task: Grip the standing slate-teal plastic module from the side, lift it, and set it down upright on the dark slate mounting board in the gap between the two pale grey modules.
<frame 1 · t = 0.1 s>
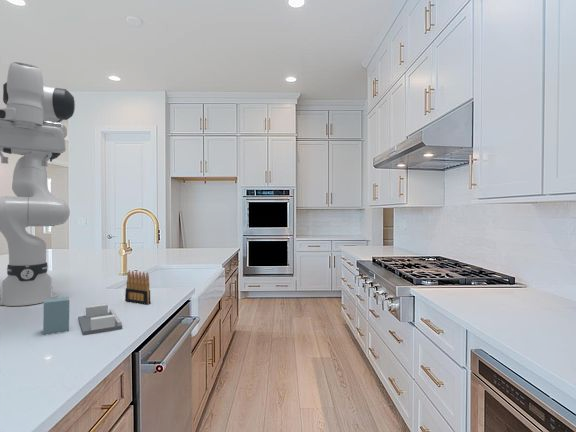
hand: (25, 164, 102), 48 cm above the table, tool pointing down, fingers open, 8 cm apart
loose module: (56, 330, 98), on the table
mounting board: (99, 324, 105), on the table
ammunition clip: (137, 303, 130), on the table
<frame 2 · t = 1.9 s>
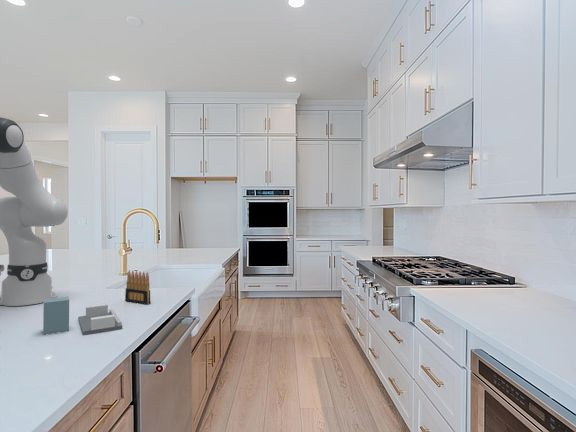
hand: (2, 270, 91), 18 cm above the table, tool horizontal, fingers open, 8 cm apart
nothing on the table moved.
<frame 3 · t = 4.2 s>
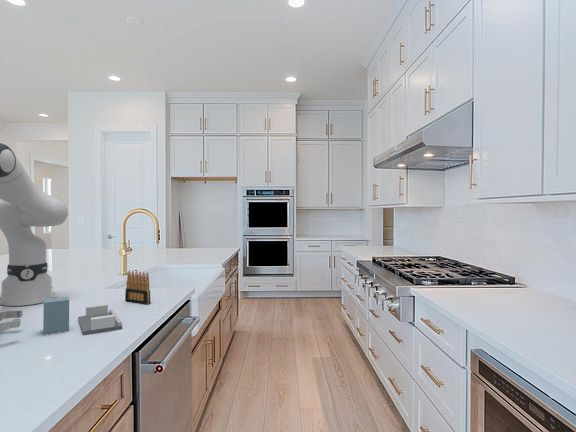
hand: (21, 317, 94), 5 cm above the table, tool horizontal, fingers open, 8 cm apart
nothing on the table moved.
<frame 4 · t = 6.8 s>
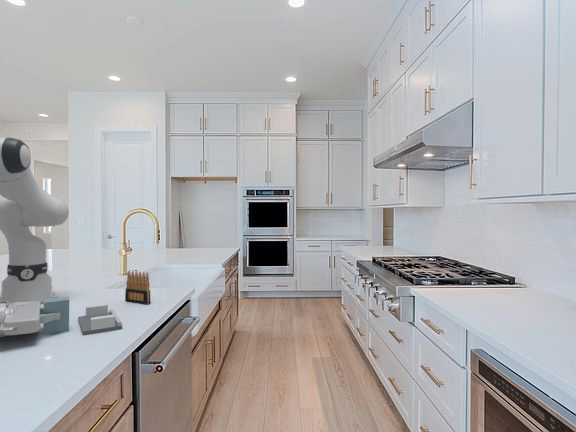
hand: (60, 312, 99), 5 cm above the table, tool horizontal, fingers closed on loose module, 4 cm apart
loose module: (56, 330, 98), on the table, touching gripper
everything else where it was.
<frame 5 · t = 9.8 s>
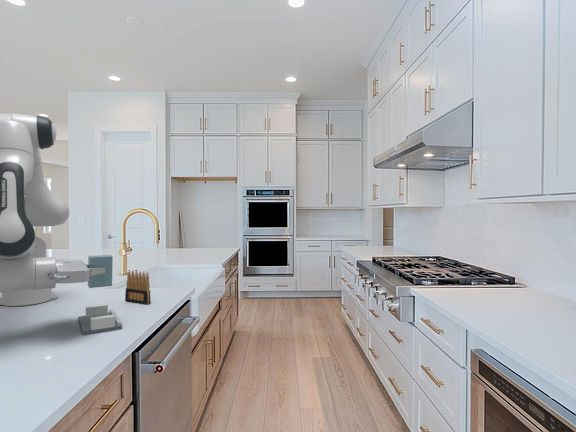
hand: (103, 268, 105), 17 cm above the table, tool horizontal, fingers closed on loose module, 4 cm apart
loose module: (99, 285, 105), point 12 cm above the table, touching gripper
everything else where it was.
when the fingers open (7 cm above the table, at t = 12.7 s): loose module drops 1 cm, resting on mounting board.
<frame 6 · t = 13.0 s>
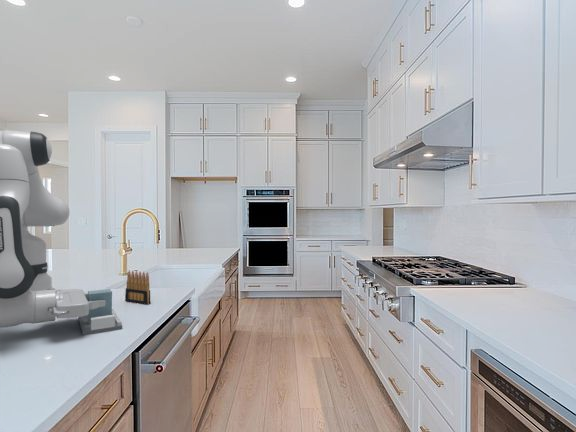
hand: (103, 299, 105), 7 cm above the table, tool horizontal, fingers open, 8 cm apart
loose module: (99, 320, 105), point 1 cm above the table, touching mounting board
everything else where it was.
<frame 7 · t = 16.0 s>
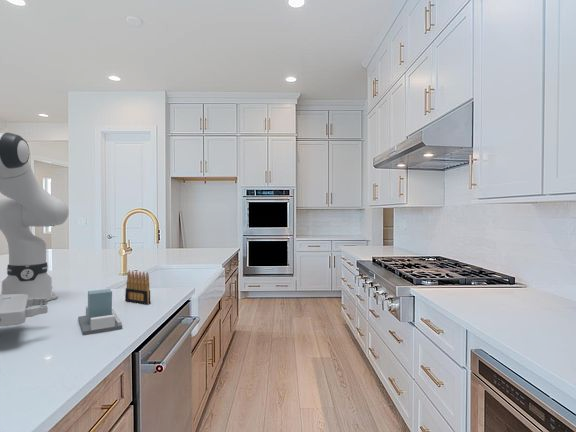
hand: (47, 305, 97), 8 cm above the table, tool horizontal, fingers open, 8 cm apart
nothing on the table moved.
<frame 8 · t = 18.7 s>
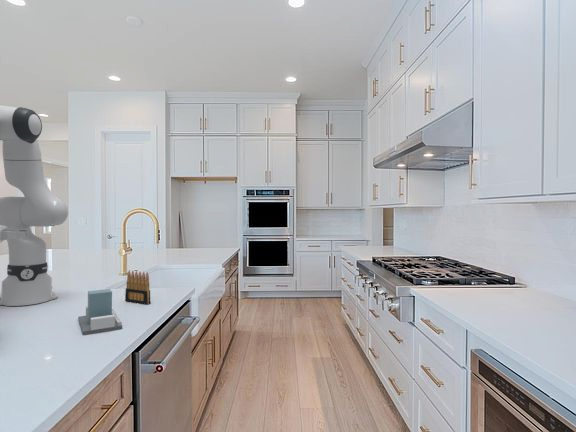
hand: (26, 233, 94), 28 cm above the table, tool horizontal, fingers open, 8 cm apart
nothing on the table moved.
at the end: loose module 0.2 cm off-centre on the mounting board, point 1.0 cm above the mounting board's base; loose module tilted 0°; the gripper is holding nothing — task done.
